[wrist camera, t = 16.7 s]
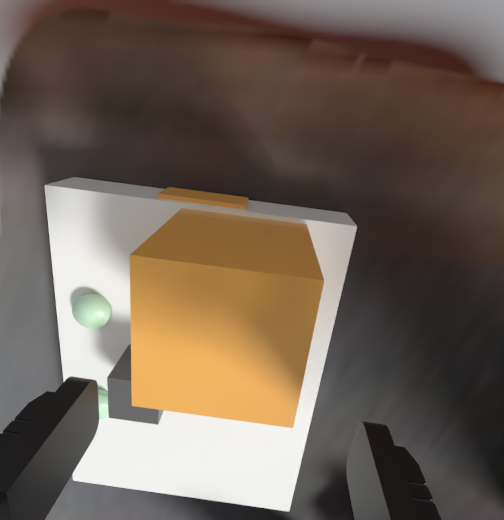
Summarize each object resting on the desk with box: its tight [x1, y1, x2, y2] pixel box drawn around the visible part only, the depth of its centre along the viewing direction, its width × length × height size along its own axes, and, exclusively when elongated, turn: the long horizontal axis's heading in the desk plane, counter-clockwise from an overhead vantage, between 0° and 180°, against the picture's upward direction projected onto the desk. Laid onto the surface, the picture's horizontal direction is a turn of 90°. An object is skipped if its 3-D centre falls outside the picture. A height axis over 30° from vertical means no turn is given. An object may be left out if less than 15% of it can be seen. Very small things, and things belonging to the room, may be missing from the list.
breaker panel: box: [44, 177, 357, 512], centre depth 20 cm, size 14×19×3 cm
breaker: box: [107, 344, 164, 425], centre depth 18 cm, size 2×2×3 cm
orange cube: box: [130, 208, 324, 428], centre depth 14 cm, size 6×6×6 cm
